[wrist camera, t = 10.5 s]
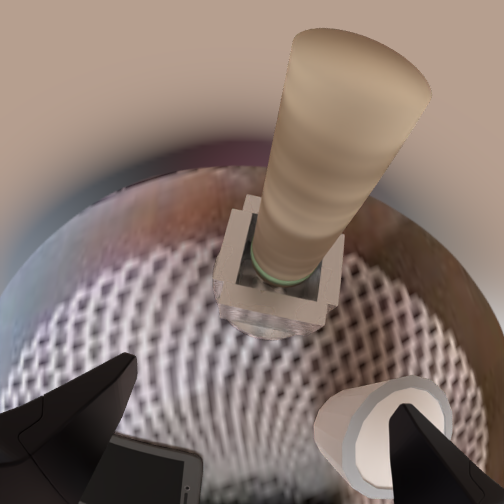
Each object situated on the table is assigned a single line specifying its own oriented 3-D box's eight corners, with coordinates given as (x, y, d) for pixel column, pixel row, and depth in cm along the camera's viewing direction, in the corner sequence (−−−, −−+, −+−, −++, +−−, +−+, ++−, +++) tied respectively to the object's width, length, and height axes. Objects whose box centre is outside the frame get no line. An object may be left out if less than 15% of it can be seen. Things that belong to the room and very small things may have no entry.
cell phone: (30, 399, 16) (25, 399, 15) (205, 453, 16) (204, 456, 16) (28, 478, 13) (23, 479, 12) (195, 535, 13) (194, 540, 13)
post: (310, 294, 16) (448, 132, 5) (243, 280, 16) (280, 75, 5) (319, 234, 17) (417, 56, 6) (257, 220, 17) (297, 17, 7)
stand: (317, 349, 19) (346, 339, 15) (200, 325, 20) (191, 307, 15) (330, 245, 23) (357, 208, 18) (228, 222, 23) (229, 178, 18)
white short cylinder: (293, 396, 18) (327, 404, 12) (382, 366, 19) (441, 355, 13) (315, 483, 16) (354, 521, 9) (400, 446, 17) (460, 461, 10)
